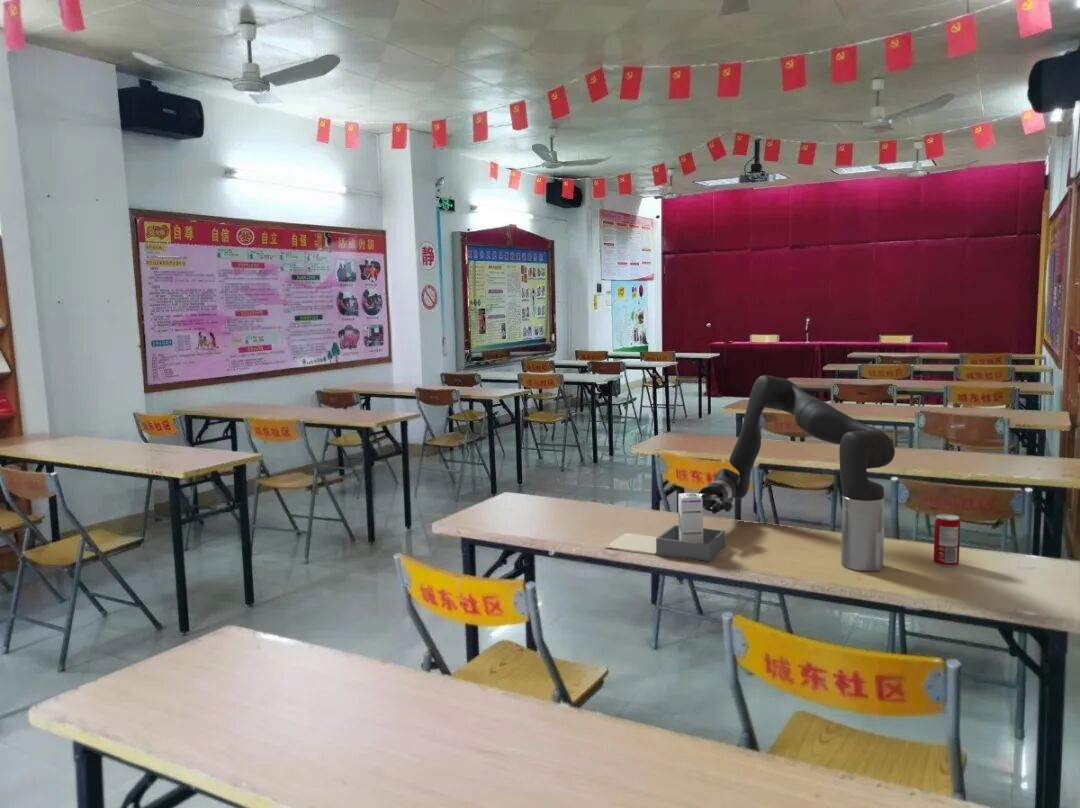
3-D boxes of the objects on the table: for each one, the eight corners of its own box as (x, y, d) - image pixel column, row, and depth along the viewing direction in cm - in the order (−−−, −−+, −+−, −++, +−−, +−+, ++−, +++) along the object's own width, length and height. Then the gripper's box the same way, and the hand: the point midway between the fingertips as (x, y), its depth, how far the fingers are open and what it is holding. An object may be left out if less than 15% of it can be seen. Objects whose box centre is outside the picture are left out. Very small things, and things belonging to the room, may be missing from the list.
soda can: (946, 559, 195) (947, 511, 194) (964, 565, 190) (966, 517, 188) (928, 561, 193) (929, 514, 192) (945, 568, 188) (947, 519, 187)
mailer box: (724, 547, 209) (725, 530, 208) (709, 562, 197) (709, 544, 196) (625, 534, 223) (625, 519, 222) (605, 548, 211) (605, 531, 210)
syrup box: (704, 552, 204) (704, 497, 202) (681, 552, 204) (680, 497, 202) (700, 545, 209) (700, 492, 208) (677, 545, 209) (677, 492, 208)
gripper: (691, 480, 228) (672, 492, 213) (740, 484, 221) (724, 497, 207) (691, 505, 228) (672, 519, 214) (740, 510, 222) (724, 525, 207)
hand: (698, 508), depth 210 cm, fingers open, 8 cm apart
